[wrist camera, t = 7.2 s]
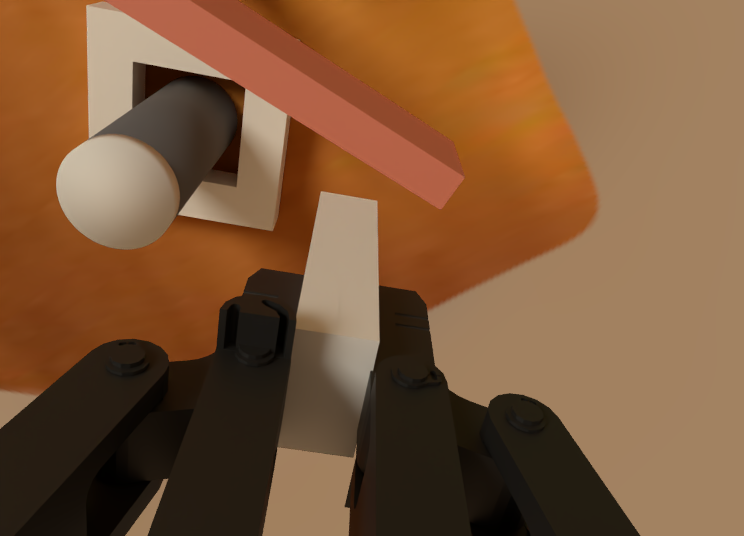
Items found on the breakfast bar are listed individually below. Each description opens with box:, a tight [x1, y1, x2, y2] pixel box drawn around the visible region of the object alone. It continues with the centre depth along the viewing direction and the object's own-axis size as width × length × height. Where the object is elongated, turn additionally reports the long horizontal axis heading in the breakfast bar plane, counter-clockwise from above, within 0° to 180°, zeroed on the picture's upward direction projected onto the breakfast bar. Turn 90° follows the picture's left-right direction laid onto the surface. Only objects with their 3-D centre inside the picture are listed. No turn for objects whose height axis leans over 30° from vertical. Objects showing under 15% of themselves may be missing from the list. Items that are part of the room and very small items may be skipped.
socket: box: [87, 2, 300, 231], centre depth 28 cm, size 10×16×13 cm, turn 170°
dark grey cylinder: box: [56, 76, 238, 249], centre depth 30 cm, size 4×4×12 cm
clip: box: [104, 0, 465, 210], centre depth 19 cm, size 3×14×4 cm, turn 57°
